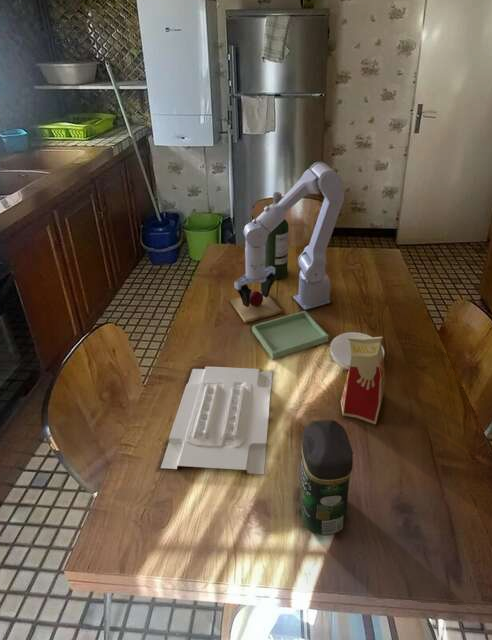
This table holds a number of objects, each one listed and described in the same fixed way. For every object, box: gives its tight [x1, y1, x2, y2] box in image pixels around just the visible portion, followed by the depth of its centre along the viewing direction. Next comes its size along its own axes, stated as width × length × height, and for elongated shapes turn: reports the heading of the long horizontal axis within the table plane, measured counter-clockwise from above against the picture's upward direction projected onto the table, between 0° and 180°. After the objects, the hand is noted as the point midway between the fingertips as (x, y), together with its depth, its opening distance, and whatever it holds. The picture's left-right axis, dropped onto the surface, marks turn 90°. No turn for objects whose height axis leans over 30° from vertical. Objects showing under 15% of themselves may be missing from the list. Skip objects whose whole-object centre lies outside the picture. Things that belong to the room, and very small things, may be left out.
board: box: [230, 291, 283, 324], centre depth 135 cm, size 12×12×1 cm
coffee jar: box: [299, 419, 354, 536], centre depth 74 cm, size 10×8×19 cm
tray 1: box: [160, 366, 274, 475], centre depth 97 cm, size 20×28×4 cm
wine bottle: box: [264, 191, 290, 280], centre depth 147 cm, size 8×8×30 cm
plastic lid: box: [329, 331, 385, 371], centre depth 115 cm, size 14×14×2 cm
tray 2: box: [251, 310, 330, 360], centre depth 122 cm, size 17×13×2 cm
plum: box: [250, 290, 263, 306], centre depth 133 cm, size 5×5×5 cm
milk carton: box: [340, 336, 386, 425], centre depth 96 cm, size 9×9×20 cm
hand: (255, 300), depth 134 cm, fingers open, 7 cm apart
